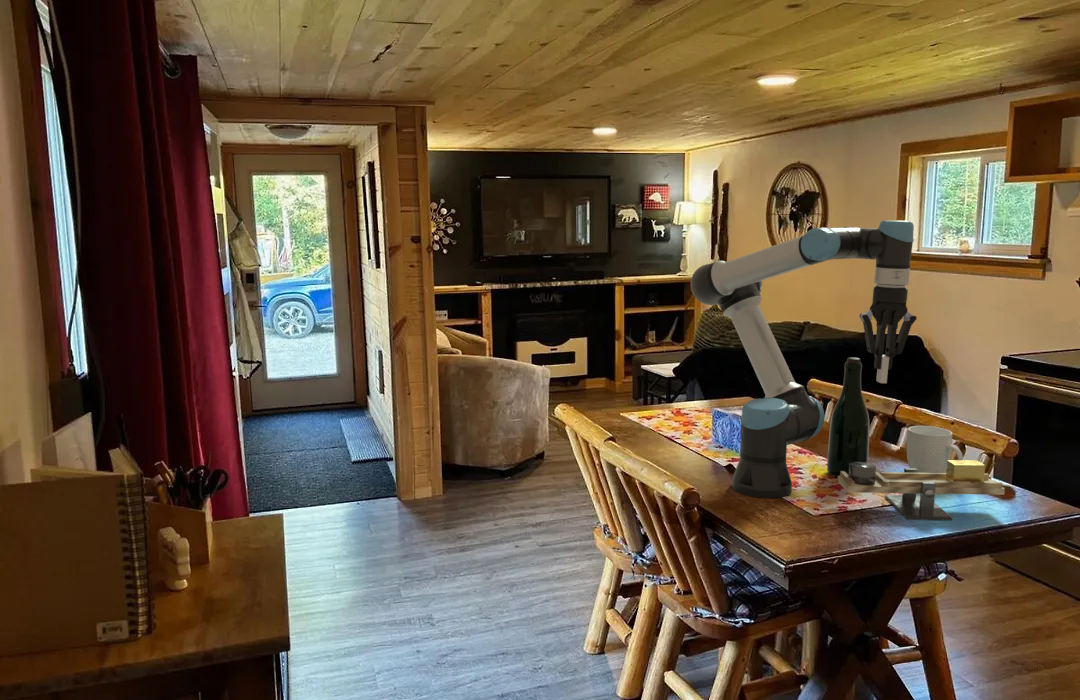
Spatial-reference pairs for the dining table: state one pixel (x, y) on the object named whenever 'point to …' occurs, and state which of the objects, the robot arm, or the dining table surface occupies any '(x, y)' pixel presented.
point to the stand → (919, 503)
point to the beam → (912, 484)
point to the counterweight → (862, 473)
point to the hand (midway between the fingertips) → (881, 381)
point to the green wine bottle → (849, 423)
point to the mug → (930, 449)
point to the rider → (965, 471)
